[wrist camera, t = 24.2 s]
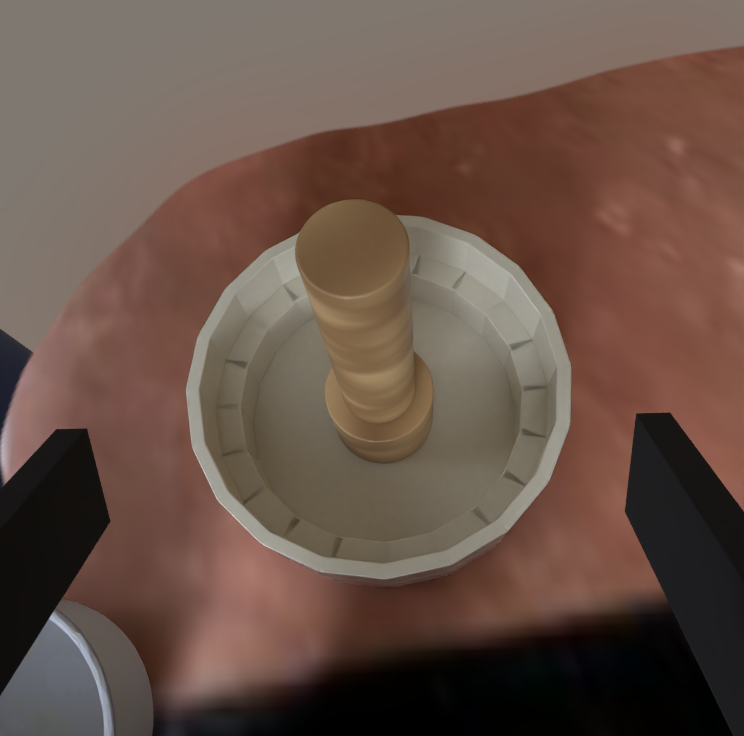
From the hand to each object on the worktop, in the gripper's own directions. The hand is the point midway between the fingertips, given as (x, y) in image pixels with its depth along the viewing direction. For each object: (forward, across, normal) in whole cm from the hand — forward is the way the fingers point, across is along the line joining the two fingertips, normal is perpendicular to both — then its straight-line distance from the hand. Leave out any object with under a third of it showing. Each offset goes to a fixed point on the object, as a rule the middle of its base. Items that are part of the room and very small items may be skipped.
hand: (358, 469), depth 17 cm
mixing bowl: (+16, 0, -8) cm, 18 cm away
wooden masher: (+16, 0, -7) cm, 17 cm away
